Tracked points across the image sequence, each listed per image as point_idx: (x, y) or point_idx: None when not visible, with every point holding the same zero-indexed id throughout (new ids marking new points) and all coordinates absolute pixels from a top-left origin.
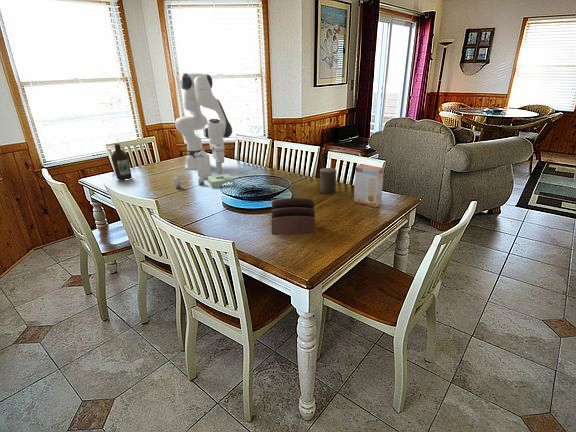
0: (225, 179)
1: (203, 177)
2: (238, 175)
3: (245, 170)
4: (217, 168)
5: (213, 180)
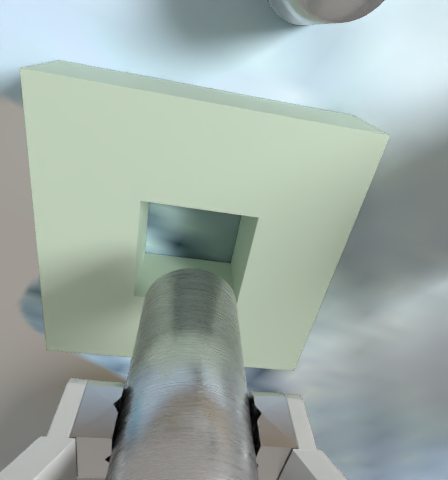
0: (74, 285)
1: (310, 8)
2: (329, 405)
3: (404, 464)
4: (151, 346)
5: (102, 133)
